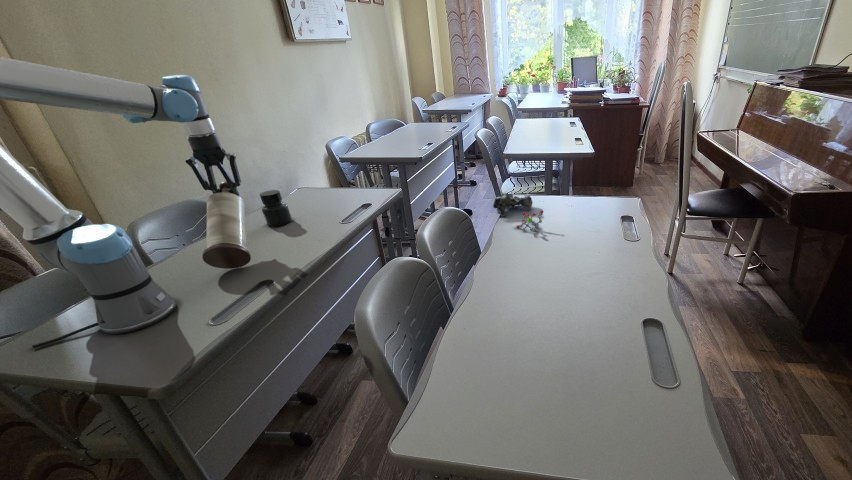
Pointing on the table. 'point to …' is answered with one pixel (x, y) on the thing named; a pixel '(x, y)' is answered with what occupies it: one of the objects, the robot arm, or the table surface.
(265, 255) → the table surface
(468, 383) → the table surface
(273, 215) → the ink bottle
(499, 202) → the dark grey lumpy piece
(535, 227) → the molecular model
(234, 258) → the towel holder
